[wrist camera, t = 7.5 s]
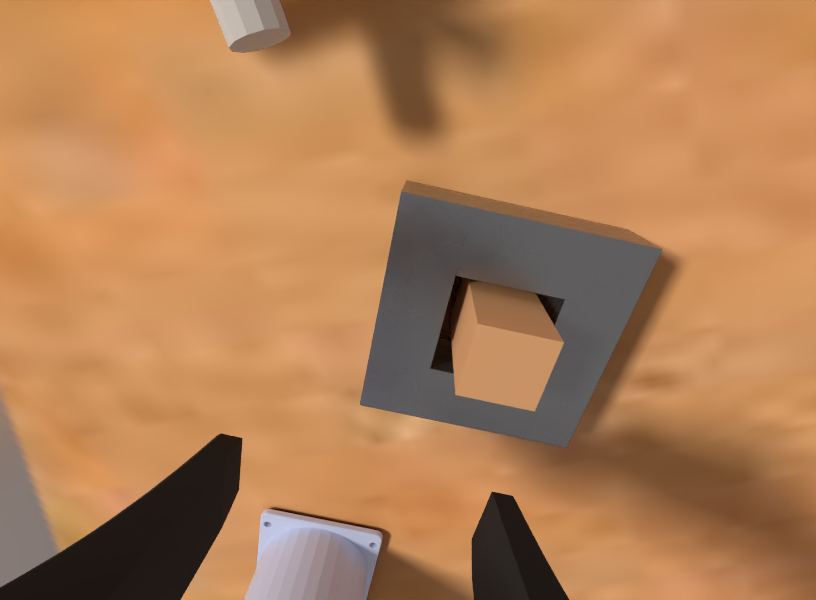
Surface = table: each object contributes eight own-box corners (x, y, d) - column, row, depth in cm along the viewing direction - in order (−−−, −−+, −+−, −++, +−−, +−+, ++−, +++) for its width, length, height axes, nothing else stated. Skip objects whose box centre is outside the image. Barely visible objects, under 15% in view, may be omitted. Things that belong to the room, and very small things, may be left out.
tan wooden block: (507, 333, 20) (534, 411, 15) (449, 321, 20) (455, 394, 15) (527, 279, 19) (564, 342, 14) (465, 265, 19) (477, 323, 14)
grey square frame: (550, 406, 22) (566, 447, 19) (369, 369, 22) (359, 405, 19) (628, 229, 18) (662, 249, 15) (406, 180, 18) (401, 191, 15)
